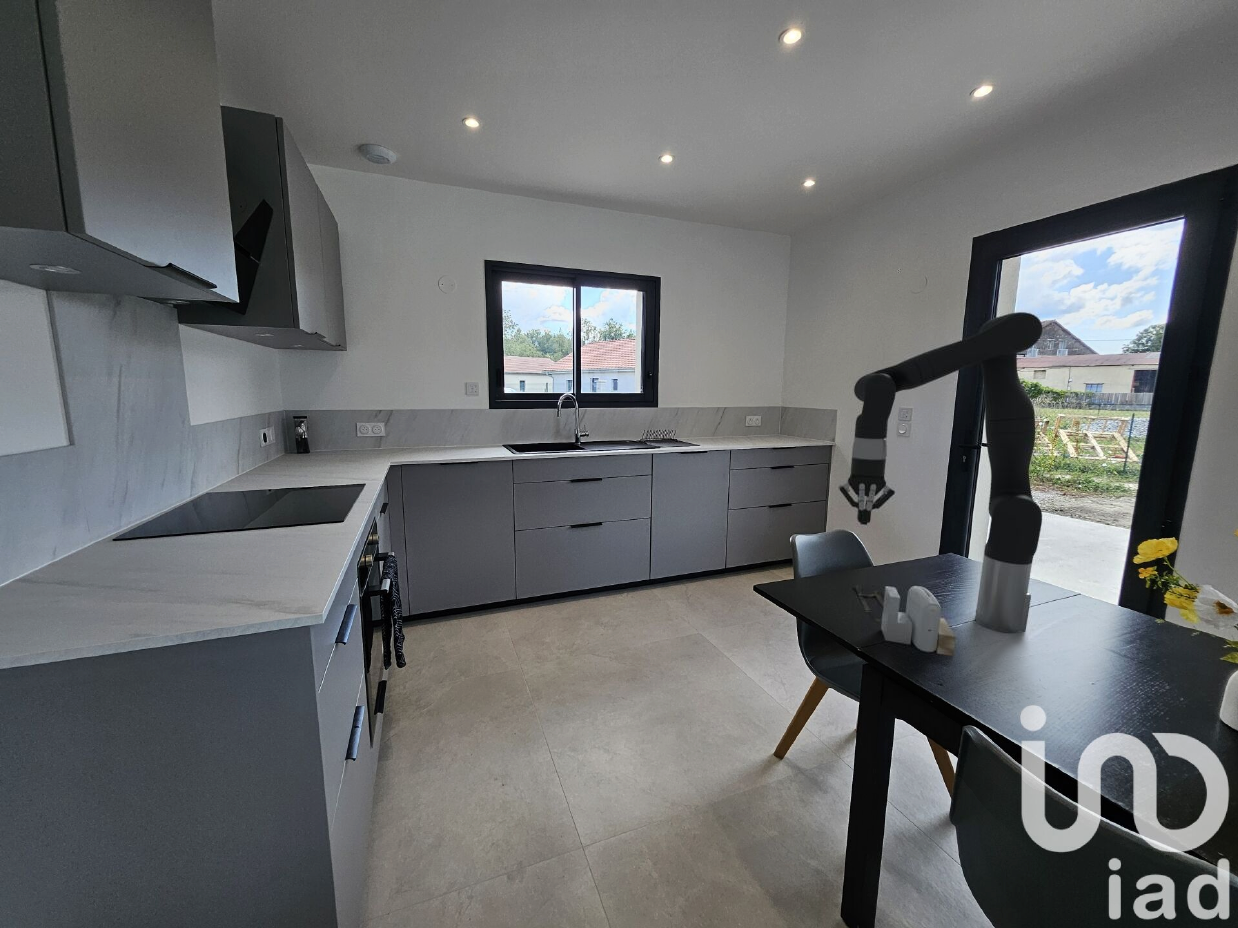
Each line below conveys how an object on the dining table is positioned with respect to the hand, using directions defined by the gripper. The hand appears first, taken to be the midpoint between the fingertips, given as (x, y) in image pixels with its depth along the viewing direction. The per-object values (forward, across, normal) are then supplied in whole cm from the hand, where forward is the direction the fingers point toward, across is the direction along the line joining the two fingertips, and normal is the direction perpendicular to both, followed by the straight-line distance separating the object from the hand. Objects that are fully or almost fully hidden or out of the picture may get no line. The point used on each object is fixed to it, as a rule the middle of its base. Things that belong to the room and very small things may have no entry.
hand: (863, 523), depth 122 cm
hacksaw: (+25, -7, -6) cm, 26 cm away
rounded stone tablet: (+24, -12, +10) cm, 29 cm away
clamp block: (+24, -16, +11) cm, 31 cm away
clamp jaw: (+24, -7, +11) cm, 27 cm away
